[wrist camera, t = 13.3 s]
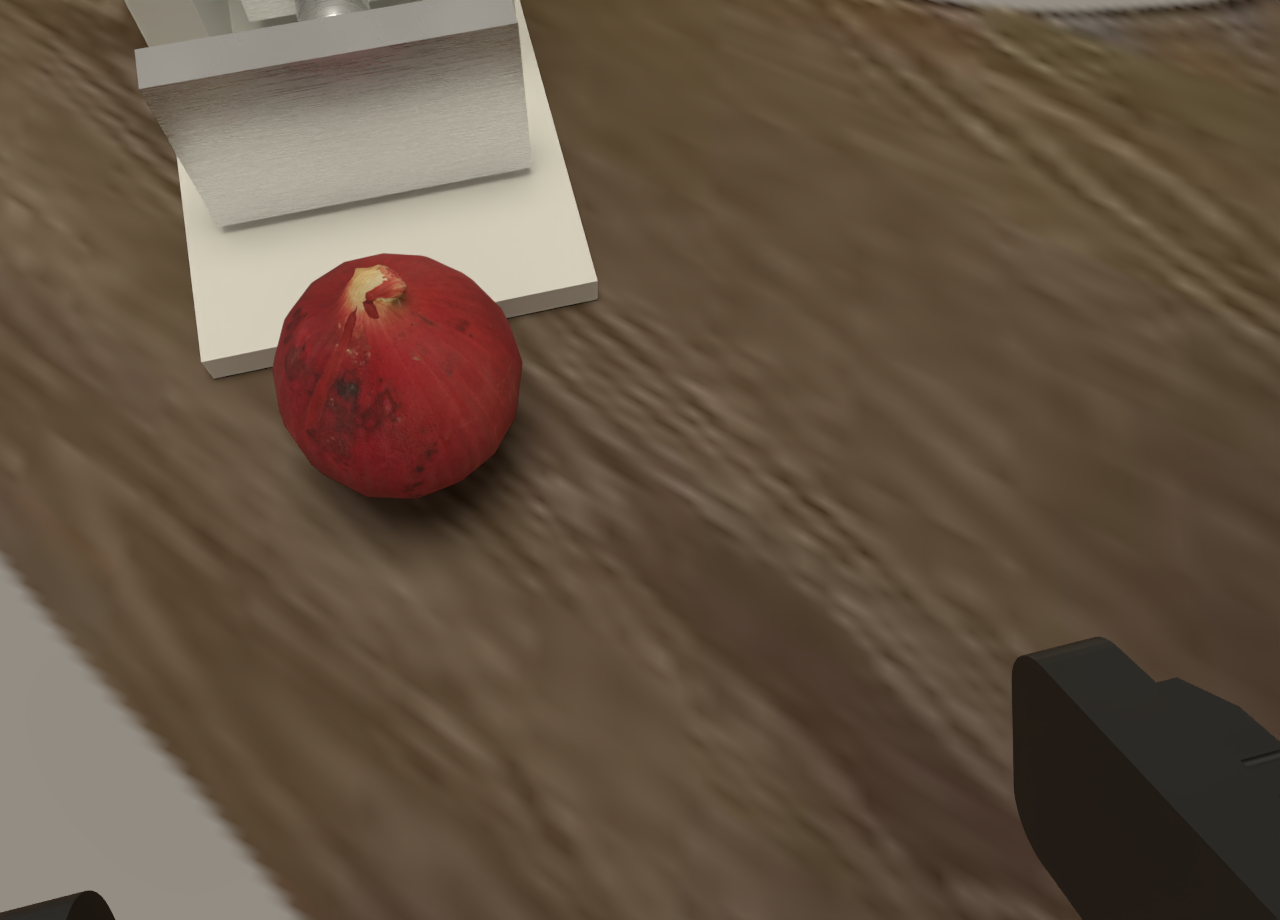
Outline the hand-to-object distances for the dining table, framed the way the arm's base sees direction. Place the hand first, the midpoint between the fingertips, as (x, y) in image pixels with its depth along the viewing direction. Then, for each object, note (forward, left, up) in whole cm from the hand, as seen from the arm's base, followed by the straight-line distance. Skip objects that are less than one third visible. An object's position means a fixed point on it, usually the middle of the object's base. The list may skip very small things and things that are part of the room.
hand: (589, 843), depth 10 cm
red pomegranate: (-4, -12, -18) cm, 22 cm away
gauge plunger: (-10, -23, -16) cm, 30 cm away
